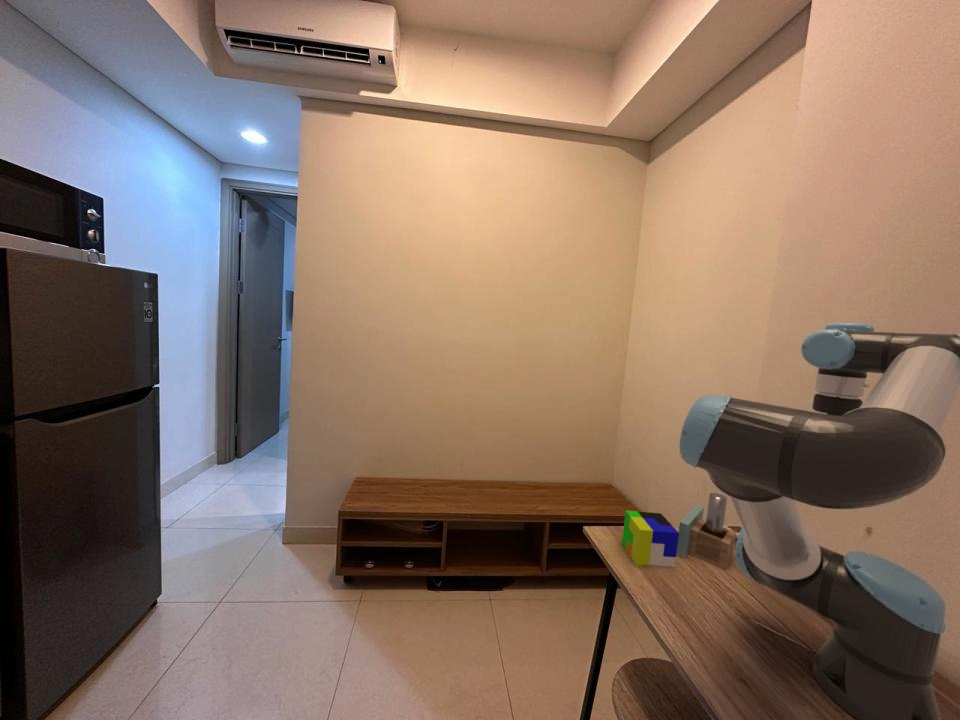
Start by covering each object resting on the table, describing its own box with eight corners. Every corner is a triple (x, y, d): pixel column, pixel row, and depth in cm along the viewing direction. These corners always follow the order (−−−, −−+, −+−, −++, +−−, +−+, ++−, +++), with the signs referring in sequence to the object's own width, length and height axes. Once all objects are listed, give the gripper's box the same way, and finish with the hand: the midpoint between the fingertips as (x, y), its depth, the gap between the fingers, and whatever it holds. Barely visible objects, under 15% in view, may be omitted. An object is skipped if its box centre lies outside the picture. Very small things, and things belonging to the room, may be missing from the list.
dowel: (701, 550, 102) (707, 495, 101) (705, 545, 105) (711, 491, 103) (717, 557, 99) (725, 501, 98) (721, 552, 102) (728, 496, 101)
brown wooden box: (725, 569, 96) (729, 544, 95) (687, 553, 102) (690, 529, 102) (732, 556, 102) (736, 532, 102) (696, 541, 109) (699, 518, 108)
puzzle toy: (674, 569, 96) (679, 532, 95) (635, 566, 96) (640, 529, 95) (656, 546, 106) (660, 513, 105) (621, 543, 106) (625, 510, 105)
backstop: (762, 596, 88) (768, 556, 87) (675, 556, 101) (679, 522, 100) (771, 568, 99) (777, 532, 98) (692, 536, 113) (696, 504, 112)
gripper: (865, 404, 67) (847, 515, 69) (861, 393, 85) (846, 482, 87) (811, 397, 73) (795, 500, 75) (817, 388, 90) (804, 471, 92)
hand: (822, 490), depth 81 cm, fingers open, 13 cm apart
